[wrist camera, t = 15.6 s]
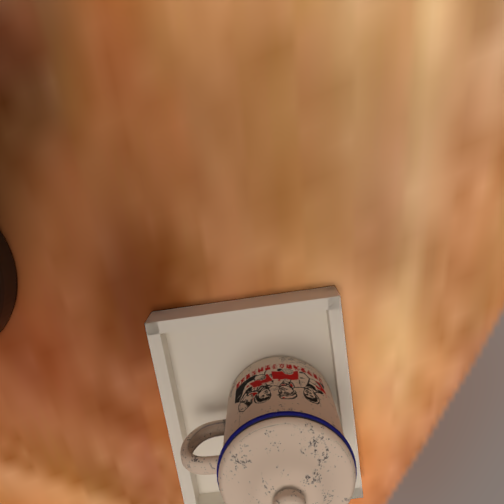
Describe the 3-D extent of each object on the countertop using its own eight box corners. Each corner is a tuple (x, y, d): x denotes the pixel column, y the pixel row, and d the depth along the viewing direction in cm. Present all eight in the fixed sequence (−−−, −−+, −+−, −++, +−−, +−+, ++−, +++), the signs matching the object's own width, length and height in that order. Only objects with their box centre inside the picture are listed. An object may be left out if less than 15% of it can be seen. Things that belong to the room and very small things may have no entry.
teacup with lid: (330, 346, 36) (364, 437, 25) (338, 444, 38) (372, 570, 27) (183, 361, 37) (150, 457, 25) (199, 457, 39) (175, 586, 27)
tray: (191, 496, 41) (187, 518, 38) (151, 311, 37) (144, 323, 34) (356, 476, 40) (363, 497, 38) (334, 285, 36) (340, 295, 34)
